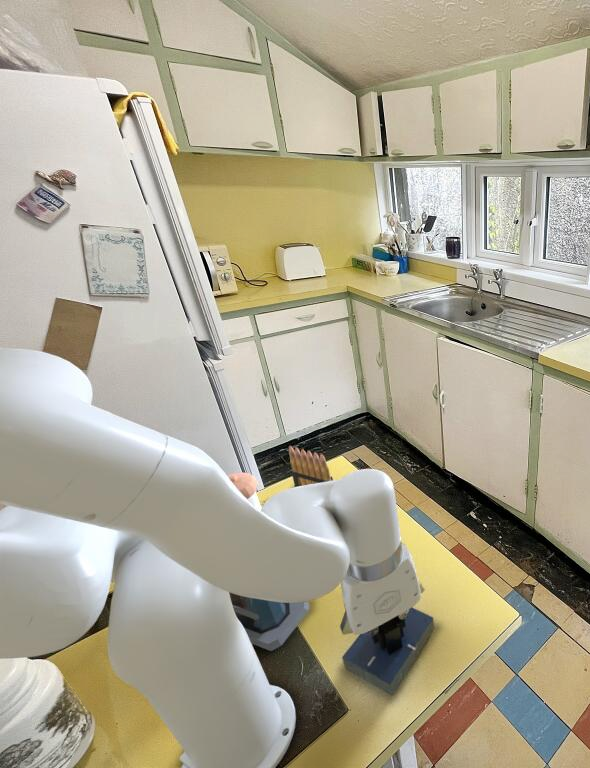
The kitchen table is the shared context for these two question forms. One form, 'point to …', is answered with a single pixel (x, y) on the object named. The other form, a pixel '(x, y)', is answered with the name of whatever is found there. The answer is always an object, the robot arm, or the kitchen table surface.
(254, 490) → the salt shaker
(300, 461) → the ammunition clip
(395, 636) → the switch handle
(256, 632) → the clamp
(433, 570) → the kitchen table surface
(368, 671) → the switch base
